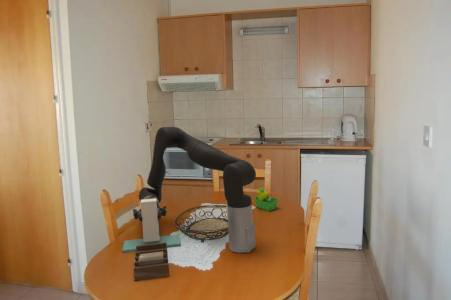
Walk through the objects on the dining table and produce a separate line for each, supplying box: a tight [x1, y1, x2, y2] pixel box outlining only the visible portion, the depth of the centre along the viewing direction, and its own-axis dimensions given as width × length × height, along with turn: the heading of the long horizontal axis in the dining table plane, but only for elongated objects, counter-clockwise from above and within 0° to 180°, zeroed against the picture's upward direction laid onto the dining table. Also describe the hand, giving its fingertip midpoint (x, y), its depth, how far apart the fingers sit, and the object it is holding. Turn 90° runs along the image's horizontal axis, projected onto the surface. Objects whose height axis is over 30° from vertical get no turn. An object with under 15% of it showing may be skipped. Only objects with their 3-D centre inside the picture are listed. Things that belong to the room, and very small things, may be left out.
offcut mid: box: [139, 253, 163, 258], centre depth 127 cm, size 2×8×4 cm, turn 101°
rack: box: [133, 242, 170, 282], centre depth 130 cm, size 19×11×5 cm, turn 11°
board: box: [121, 234, 182, 254], centre depth 149 cm, size 10×22×2 cm, turn 101°
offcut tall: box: [138, 256, 164, 267], centre depth 123 cm, size 2×8×6 cm, turn 101°
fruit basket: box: [253, 187, 279, 212], centre depth 190 cm, size 11×9×11 cm
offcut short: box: [140, 251, 163, 256], centre depth 132 cm, size 2×8×4 cm, turn 101°
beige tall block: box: [140, 198, 160, 242], centre depth 148 cm, size 4×6×16 cm, turn 101°
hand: (149, 218), depth 145 cm, fingers closed on beige tall block, 6 cm apart
